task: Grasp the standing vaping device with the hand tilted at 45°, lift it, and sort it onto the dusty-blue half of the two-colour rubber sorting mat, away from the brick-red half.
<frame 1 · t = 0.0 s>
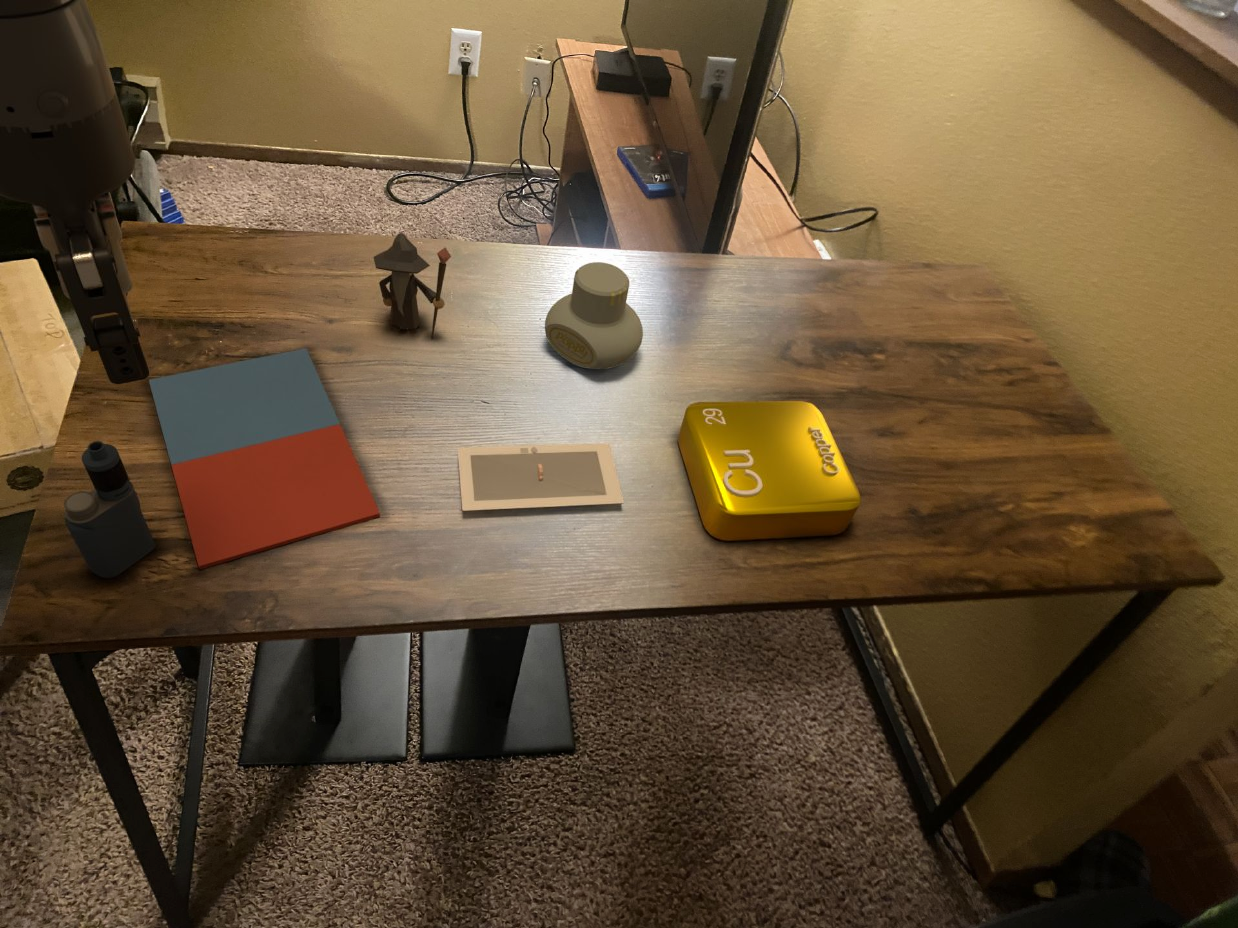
hand: (120, 336, 54), 22 cm above the table, tool pointing down, fingers open, 8 cm apart
element tile: (758, 482, 85), on the table
wizard figurine: (415, 328, 93), on the table
touchpad: (538, 483, 80), on the table
vaping device: (125, 558, 68), on the table
air freshener: (590, 351, 95), on the table
sorting mat: (259, 447, 78), on the table
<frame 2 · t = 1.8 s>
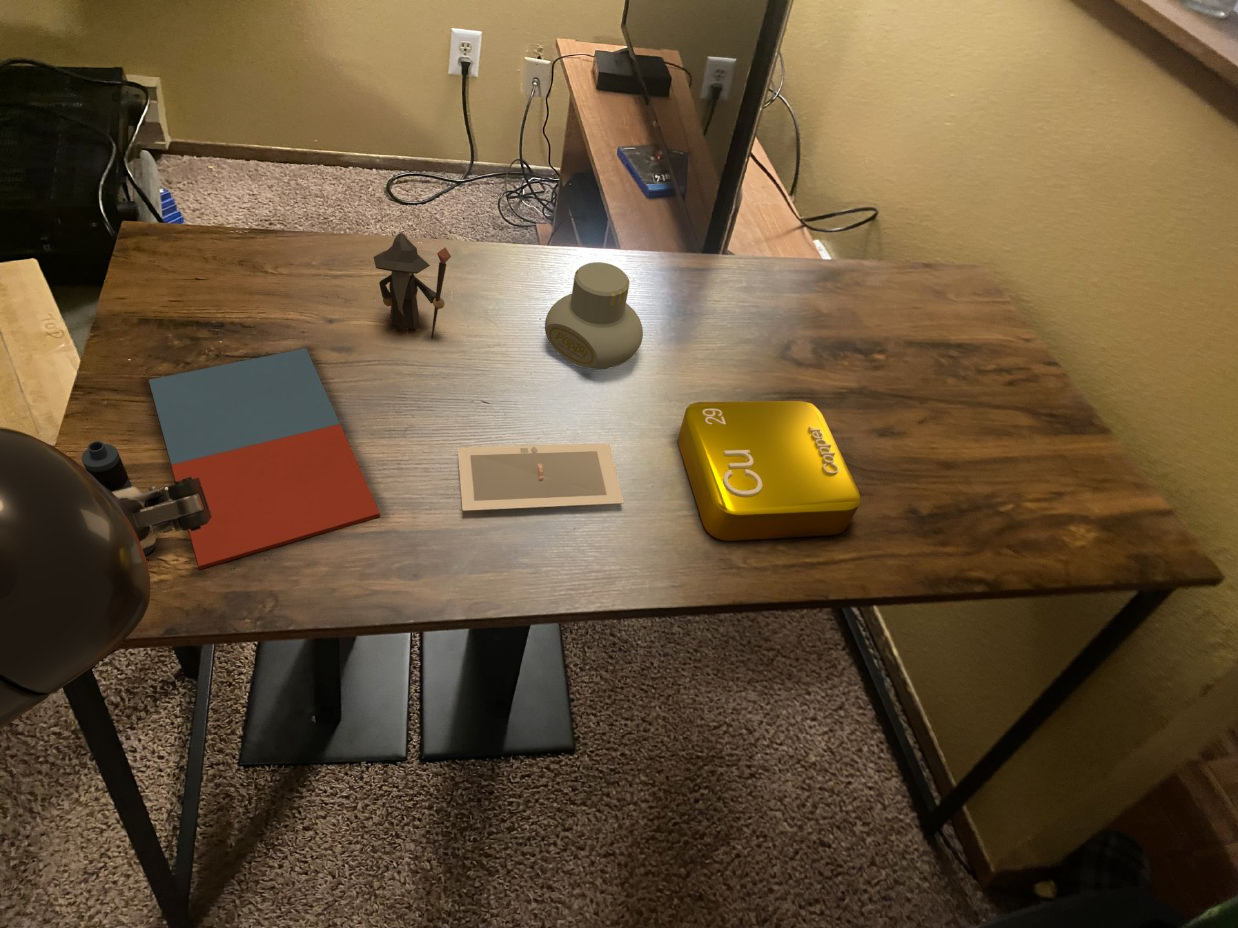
hand: (77, 530, 50), 17 cm above the table, tool tilted 45°, fingers open, 8 cm apart
nothing on the table moved.
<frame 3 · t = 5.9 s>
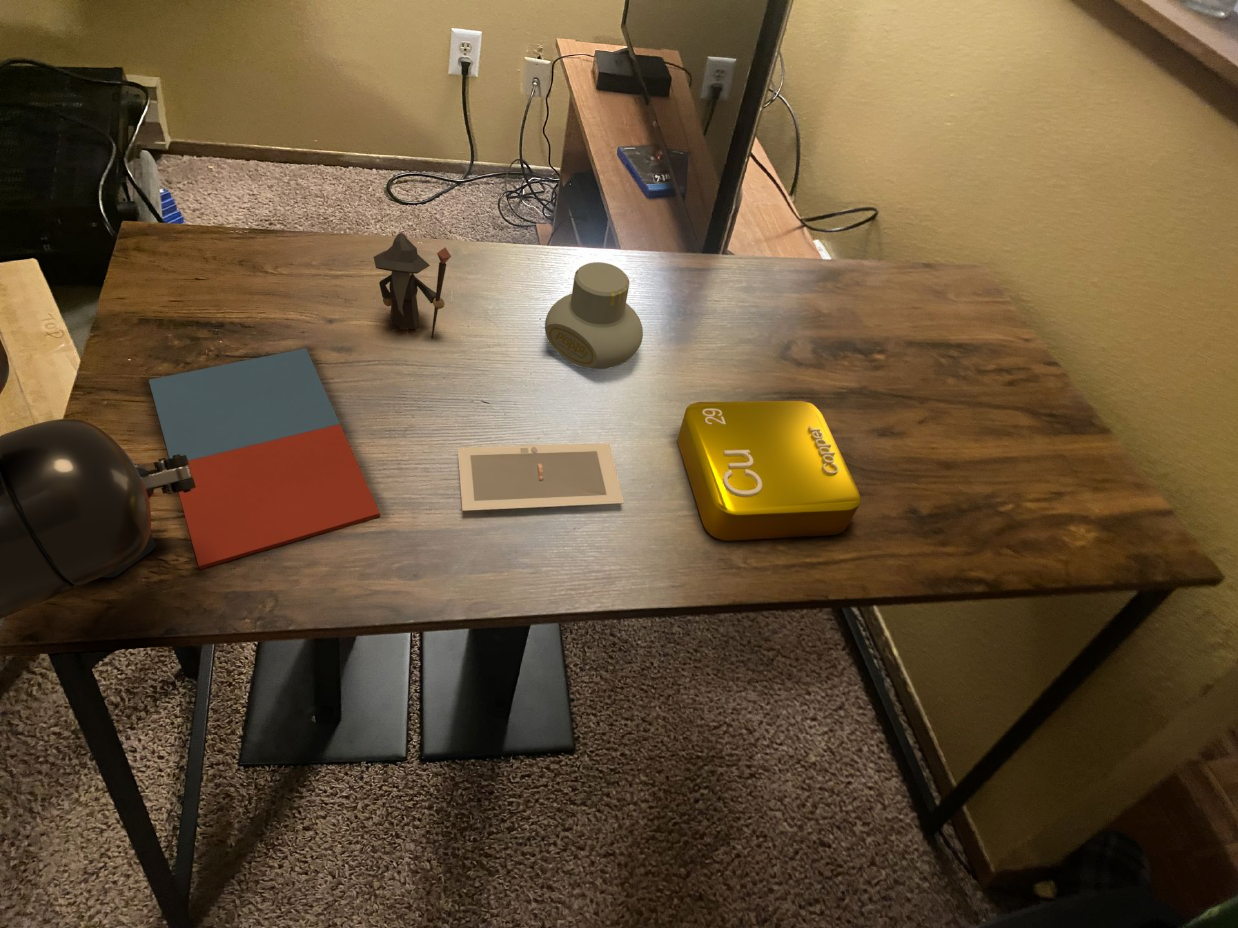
hand: (99, 491, 65), 6 cm above the table, tool tilted 45°, fingers closed on vaping device, 5 cm apart
vaping device: (125, 558, 68), on the table, touching gripper
everything else where it was.
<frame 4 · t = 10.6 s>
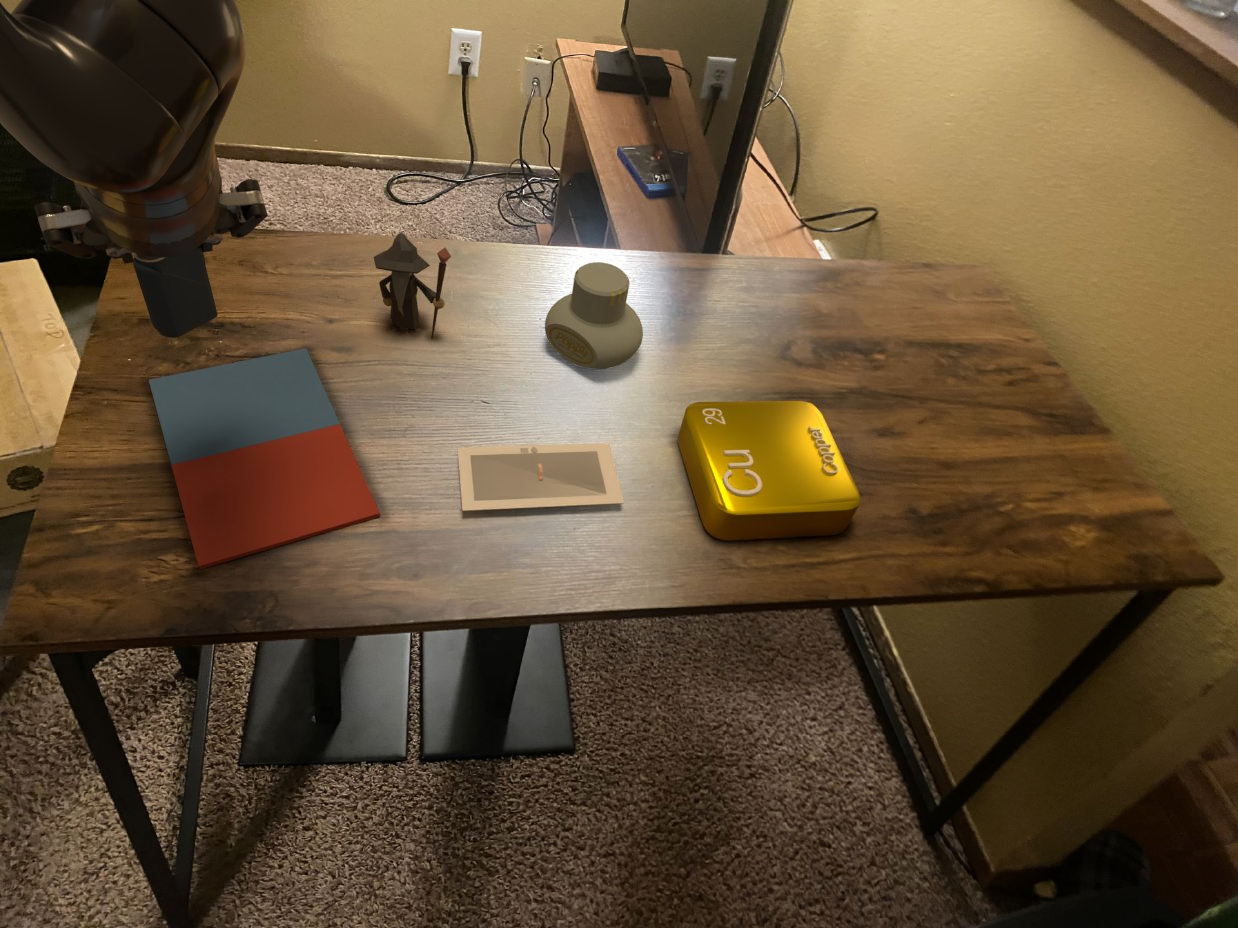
hand: (165, 244, 64), 20 cm above the table, tool tilted 45°, fingers closed on vaping device, 5 cm apart
vaping device: (188, 324, 68), point 14 cm above the table, touching gripper
everything else where it was.
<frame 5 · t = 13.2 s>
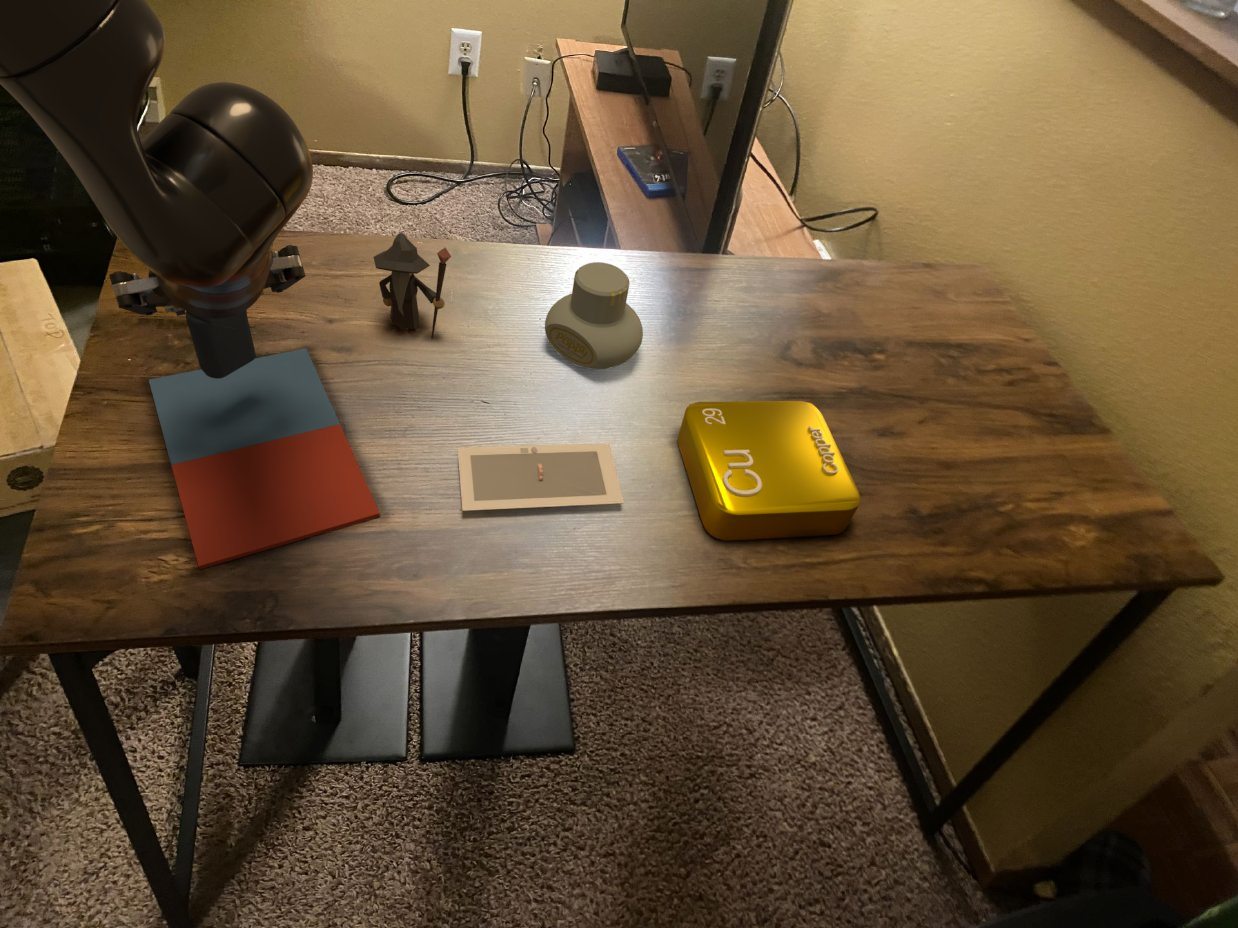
hand: (211, 297, 73), 12 cm above the table, tool tilted 45°, fingers closed on vaping device, 5 cm apart
vaping device: (230, 365, 77), point 6 cm above the table, touching gripper
everything else where it was.
when the fingers open (7 cm above the table, at t = 15.2 s): vaping device stays where it is, resting on sorting mat.
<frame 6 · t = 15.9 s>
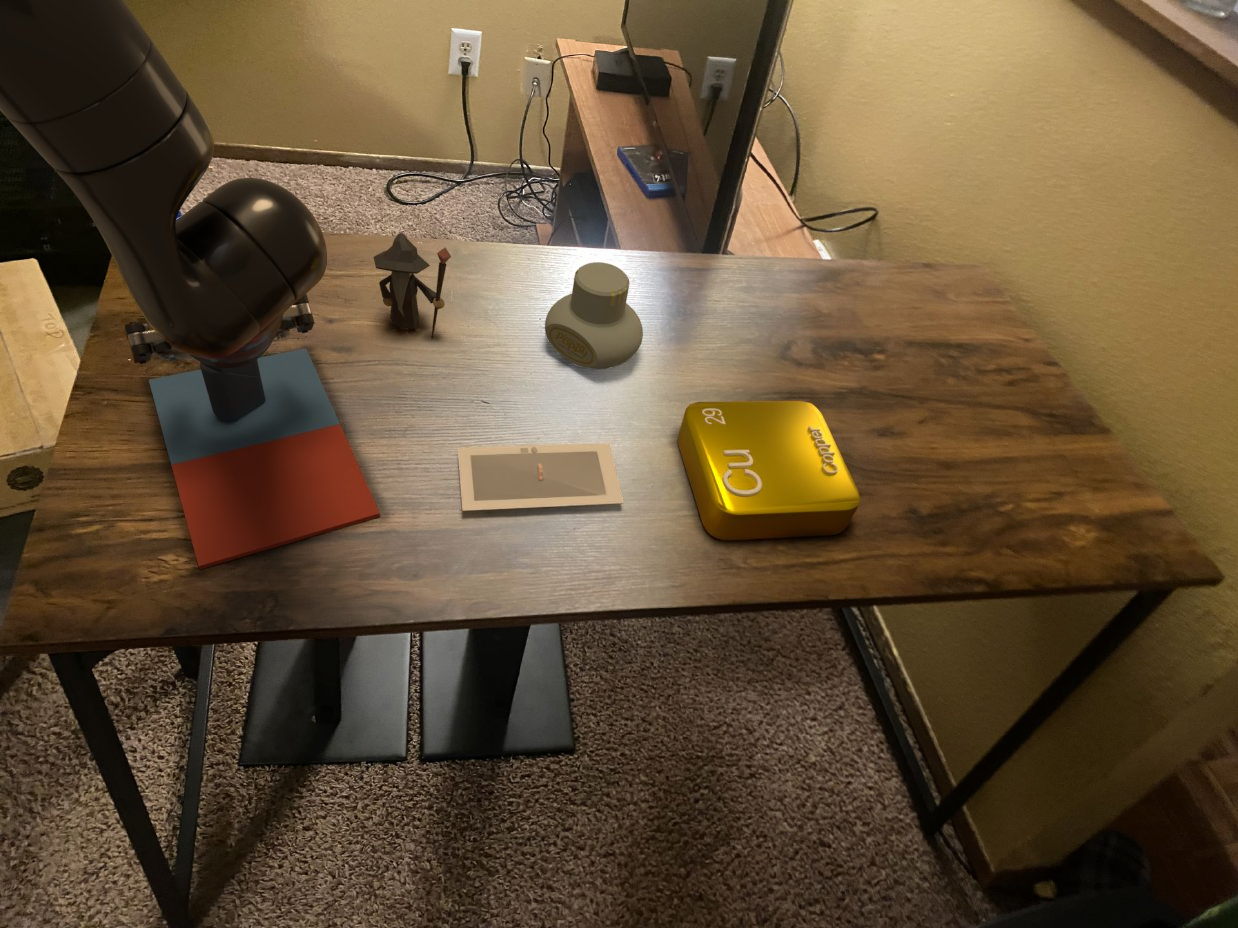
hand: (221, 339, 76), 8 cm above the table, tool tilted 45°, fingers open, 8 cm apart
vaping device: (241, 408, 81), resting on sorting mat
everything else where it was.
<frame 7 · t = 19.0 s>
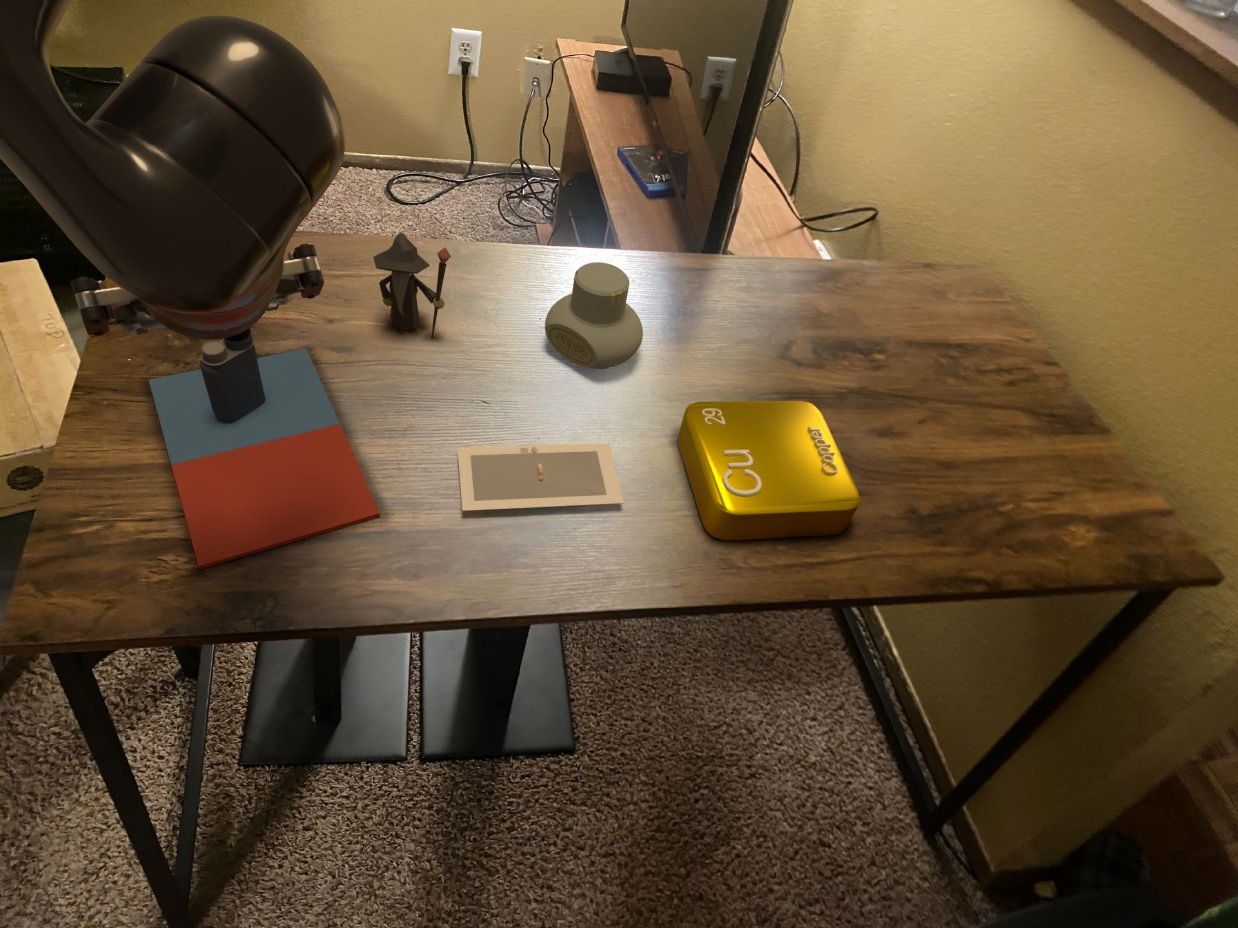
hand: (204, 307, 60), 20 cm above the table, tool tilted 45°, fingers open, 8 cm apart
nothing on the table moved.
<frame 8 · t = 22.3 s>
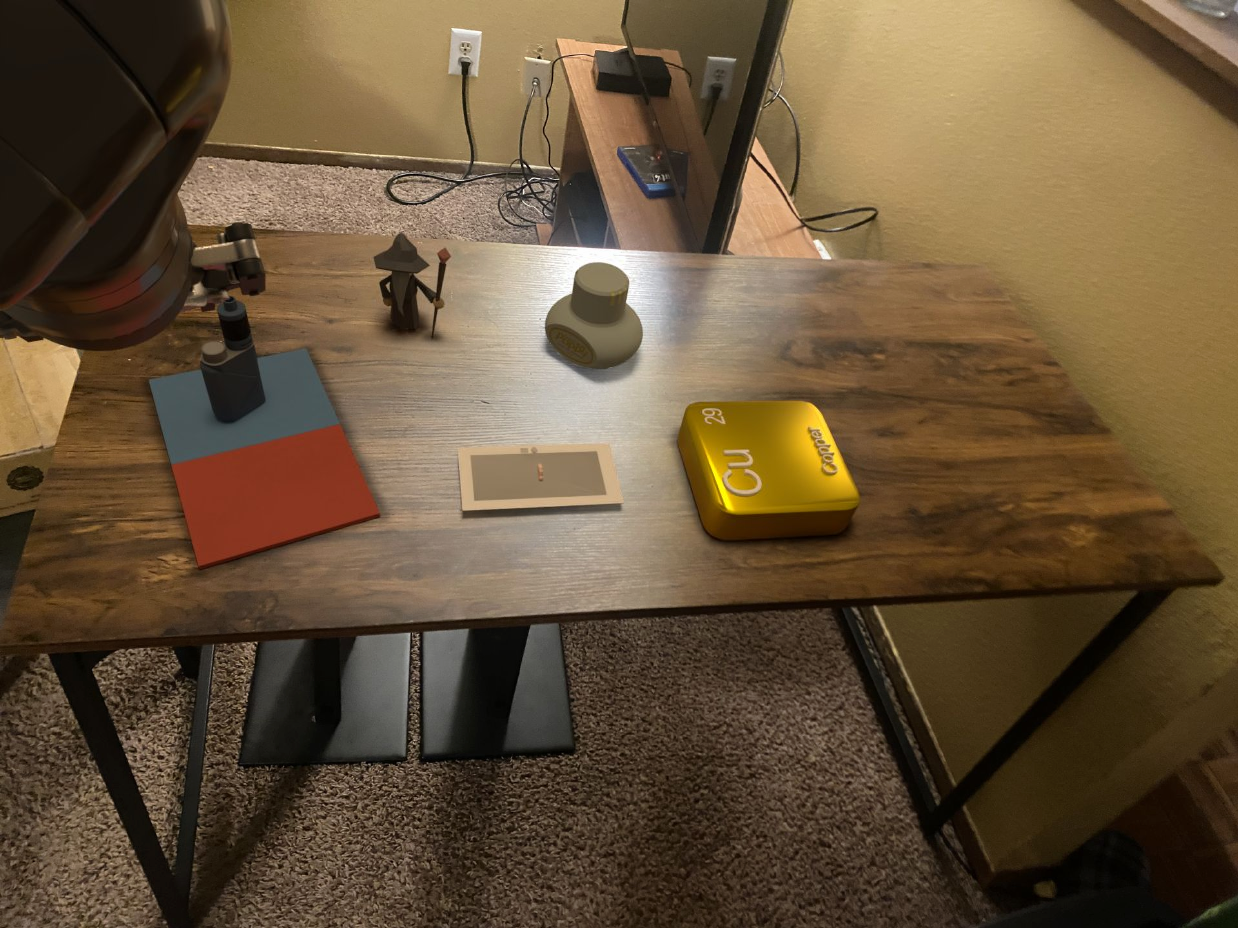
hand: (119, 307, 46), 29 cm above the table, tool tilted 45°, fingers open, 8 cm apart
nothing on the table moved.
at the end: vaping device inside the target area on the sorting mat (1.3 cm from its centre), point 0.3 cm above the sorting mat's base; vaping device tilted 0° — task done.
